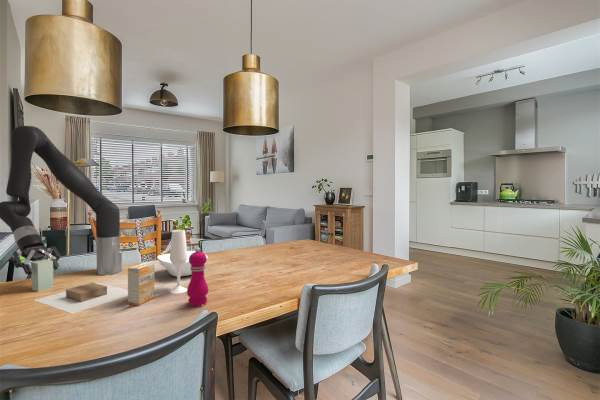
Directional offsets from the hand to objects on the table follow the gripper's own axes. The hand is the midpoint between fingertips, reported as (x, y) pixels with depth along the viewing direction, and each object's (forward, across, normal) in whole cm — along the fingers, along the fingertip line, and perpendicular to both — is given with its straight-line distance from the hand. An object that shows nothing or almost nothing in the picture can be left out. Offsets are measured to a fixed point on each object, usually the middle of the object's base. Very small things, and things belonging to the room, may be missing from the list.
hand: (44, 271), depth 120 cm
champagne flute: (+38, +24, -28) cm, 53 cm away
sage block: (+4, 0, +6) cm, 7 cm away
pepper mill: (+50, +18, -39) cm, 66 cm away
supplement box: (+36, +10, -26) cm, 46 cm away
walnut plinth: (+22, +2, -13) cm, 26 cm away
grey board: (+23, +2, -12) cm, 26 cm away
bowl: (+27, +41, -16) cm, 52 cm away
